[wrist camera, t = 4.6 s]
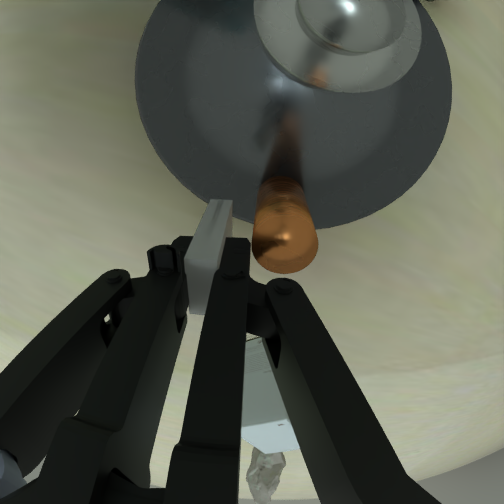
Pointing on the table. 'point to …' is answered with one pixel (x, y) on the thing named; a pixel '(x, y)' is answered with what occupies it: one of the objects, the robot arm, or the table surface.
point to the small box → (264, 405)
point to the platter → (283, 127)
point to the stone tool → (264, 474)
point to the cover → (340, 41)
